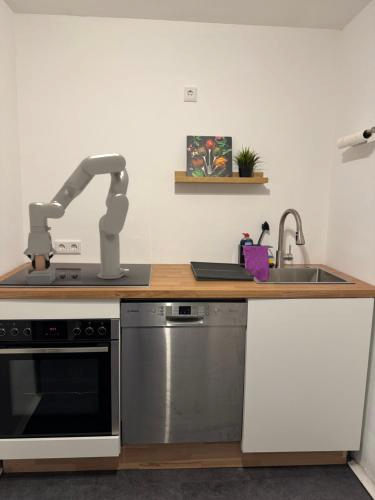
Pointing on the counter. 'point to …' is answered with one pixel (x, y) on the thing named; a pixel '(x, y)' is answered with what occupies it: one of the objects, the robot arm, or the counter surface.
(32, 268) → the walnut cube
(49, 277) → the block
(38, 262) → the terracotta cylinder
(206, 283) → the counter surface
